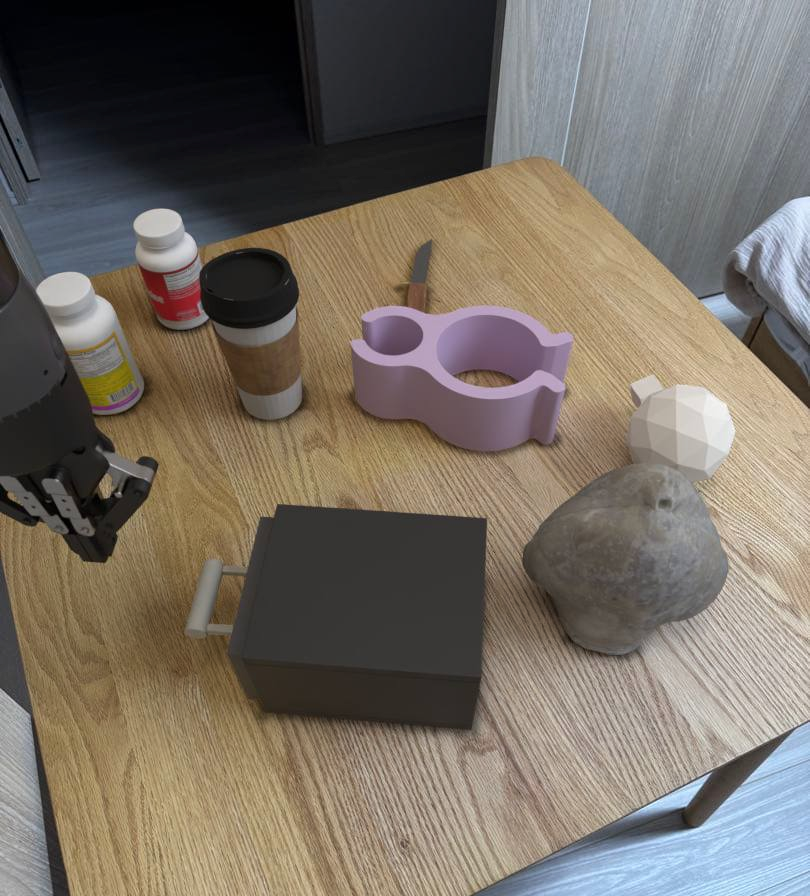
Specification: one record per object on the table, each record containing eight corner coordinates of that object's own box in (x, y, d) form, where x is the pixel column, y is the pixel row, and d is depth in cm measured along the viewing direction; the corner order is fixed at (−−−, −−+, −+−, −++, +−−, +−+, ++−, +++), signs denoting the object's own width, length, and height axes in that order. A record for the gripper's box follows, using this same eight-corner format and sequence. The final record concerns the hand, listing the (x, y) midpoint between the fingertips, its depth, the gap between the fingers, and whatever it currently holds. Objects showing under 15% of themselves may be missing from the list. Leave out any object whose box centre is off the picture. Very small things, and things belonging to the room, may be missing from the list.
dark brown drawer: (191, 694, 57) (163, 649, 50) (225, 566, 63) (204, 511, 56) (440, 715, 55) (443, 671, 49) (449, 583, 62) (453, 529, 55)
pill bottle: (151, 304, 83) (119, 212, 74) (205, 289, 85) (180, 197, 76) (164, 338, 80) (132, 247, 71) (220, 322, 81) (195, 231, 72)
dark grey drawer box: (265, 712, 57) (240, 658, 49) (294, 571, 64) (276, 503, 56) (471, 730, 56) (481, 677, 48) (477, 584, 63) (487, 517, 55)
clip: (343, 427, 73) (337, 374, 67) (375, 342, 79) (373, 287, 74) (549, 463, 70) (561, 411, 64) (564, 372, 77) (577, 317, 71)
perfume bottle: (753, 483, 66) (688, 400, 74) (755, 411, 59) (683, 328, 67) (660, 522, 67) (605, 437, 75) (650, 456, 60) (591, 369, 68)
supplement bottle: (89, 370, 78) (37, 262, 67) (152, 371, 77) (110, 264, 67) (70, 417, 74) (12, 312, 63) (137, 419, 74) (90, 313, 63)
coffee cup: (213, 399, 75) (173, 271, 63) (278, 357, 78) (252, 227, 66) (266, 443, 72) (235, 317, 59) (332, 397, 75) (316, 269, 63)
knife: (406, 233, 88) (432, 234, 88) (406, 241, 89) (432, 242, 89) (395, 328, 79) (423, 329, 79) (395, 336, 80) (423, 337, 80)
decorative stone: (513, 649, 59) (539, 544, 47) (515, 542, 65) (539, 423, 53) (707, 666, 58) (786, 563, 46) (692, 555, 64) (759, 437, 52)
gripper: (-181, 410, 36) (-14, 591, 50) (91, 428, 35) (180, 606, 50) (-108, 306, 40) (26, 501, 54) (136, 322, 39) (206, 514, 54)
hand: (100, 551), depth 52 cm, fingers closed
